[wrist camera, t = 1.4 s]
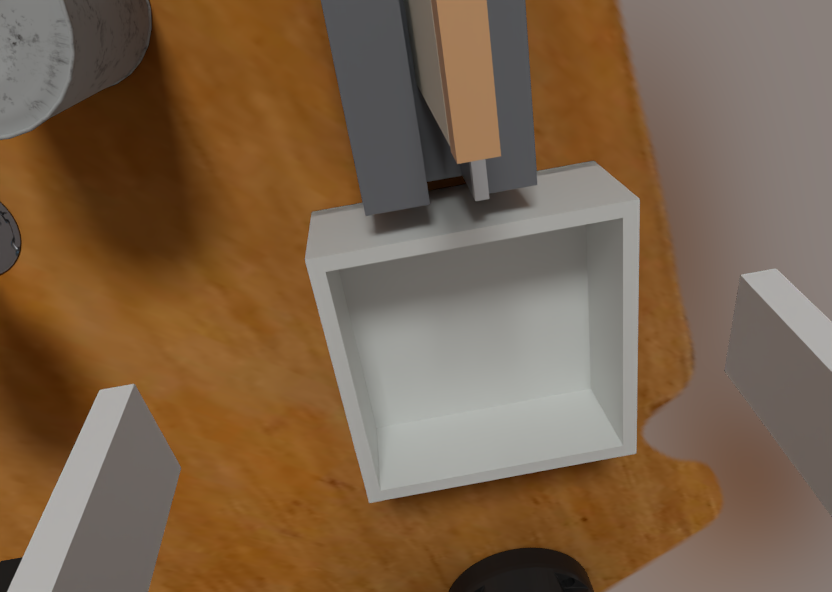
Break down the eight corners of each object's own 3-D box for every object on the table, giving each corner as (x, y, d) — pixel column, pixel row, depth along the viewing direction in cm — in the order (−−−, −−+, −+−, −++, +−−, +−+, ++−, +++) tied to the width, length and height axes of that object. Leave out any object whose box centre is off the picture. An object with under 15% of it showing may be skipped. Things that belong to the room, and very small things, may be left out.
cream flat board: (442, 79, 37) (501, 156, 23) (415, 84, 37) (457, 164, 23) (421, -80, 33) (476, -108, 19) (391, -75, 33) (424, -98, 19)
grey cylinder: (52, -131, 34) (-85, -172, 23) (186, 22, 38) (123, 48, 27) (-61, -11, 36) (-235, 3, 26) (78, 122, 40) (-21, 183, 30)
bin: (598, 389, 54) (636, 453, 47) (366, 431, 54) (369, 502, 47) (593, 160, 45) (639, 198, 38) (311, 211, 44) (304, 259, 37)
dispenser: (507, 148, 44) (541, 189, 36) (362, 174, 44) (366, 221, 36) (474, -218, 34) (511, -269, 26) (290, -186, 34) (272, -227, 26)
